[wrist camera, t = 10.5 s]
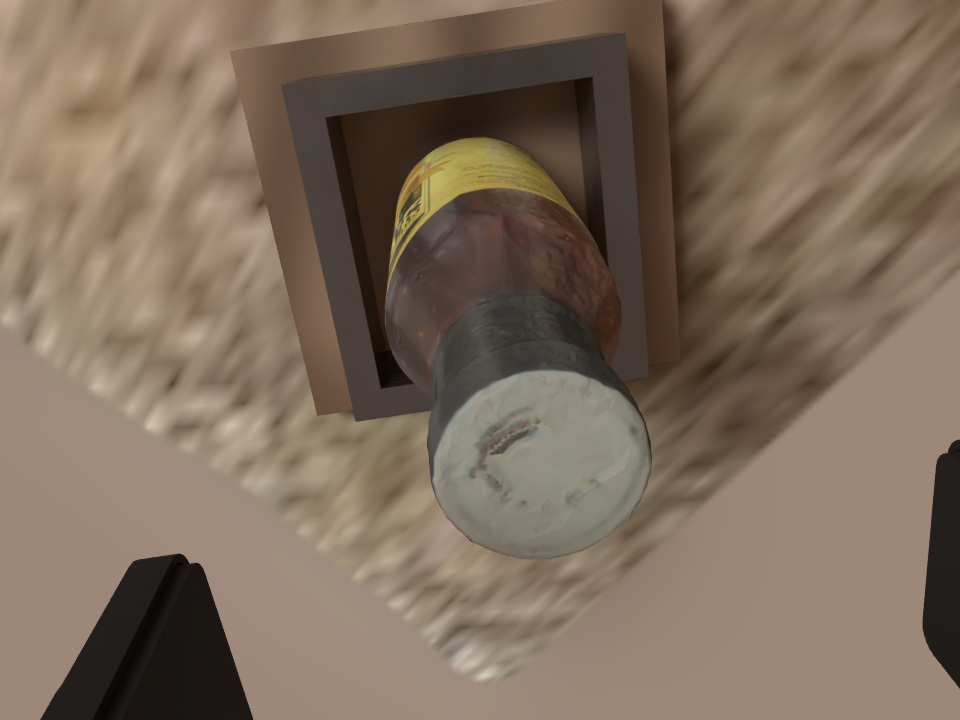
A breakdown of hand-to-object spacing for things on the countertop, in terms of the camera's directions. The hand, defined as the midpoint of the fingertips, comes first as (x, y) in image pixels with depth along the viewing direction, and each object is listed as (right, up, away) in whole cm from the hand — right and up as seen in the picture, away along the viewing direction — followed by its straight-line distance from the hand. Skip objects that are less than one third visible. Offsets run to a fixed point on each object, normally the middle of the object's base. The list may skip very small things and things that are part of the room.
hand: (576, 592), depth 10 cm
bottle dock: (-2, +9, +24) cm, 25 cm away
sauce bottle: (-1, +9, +22) cm, 24 cm away
